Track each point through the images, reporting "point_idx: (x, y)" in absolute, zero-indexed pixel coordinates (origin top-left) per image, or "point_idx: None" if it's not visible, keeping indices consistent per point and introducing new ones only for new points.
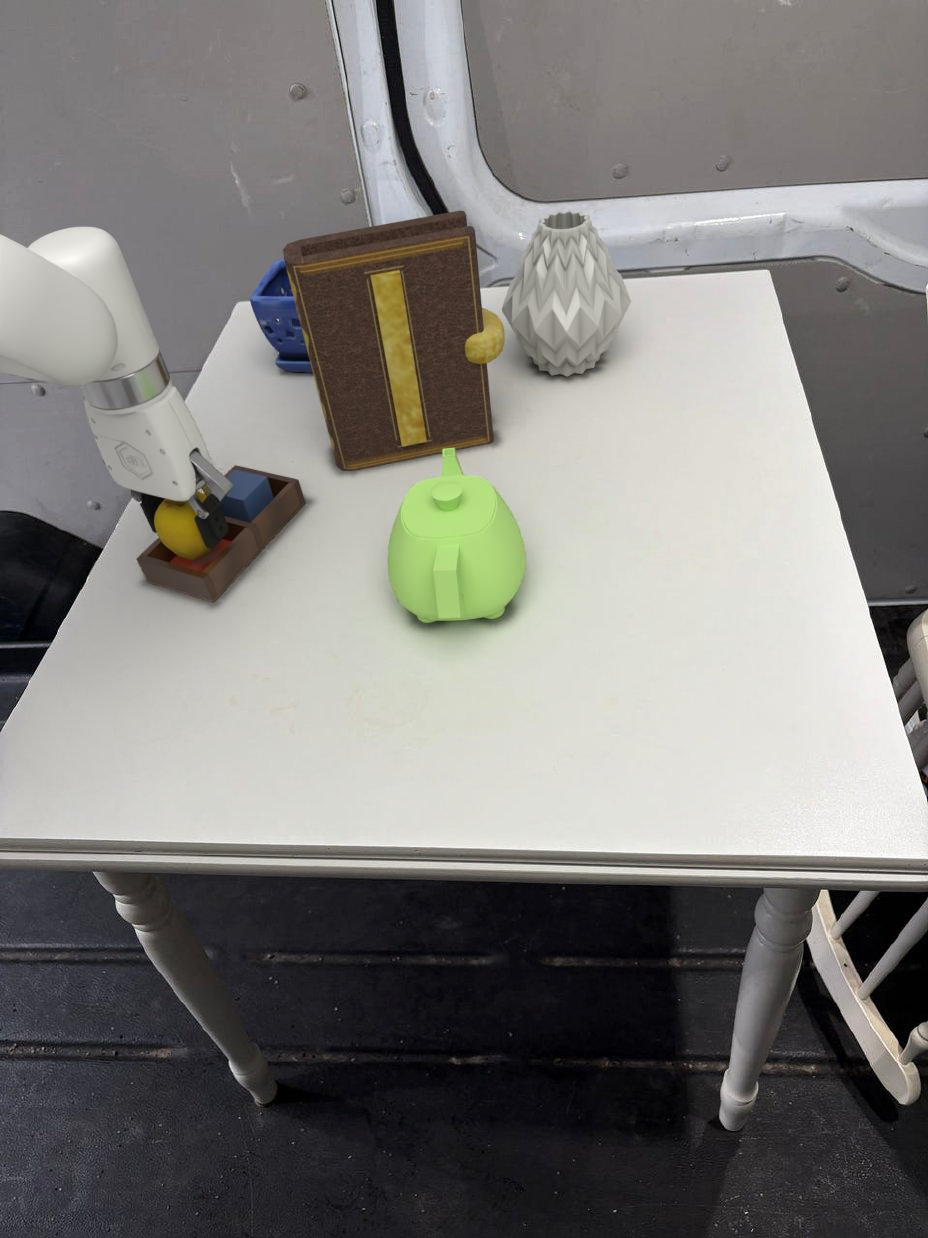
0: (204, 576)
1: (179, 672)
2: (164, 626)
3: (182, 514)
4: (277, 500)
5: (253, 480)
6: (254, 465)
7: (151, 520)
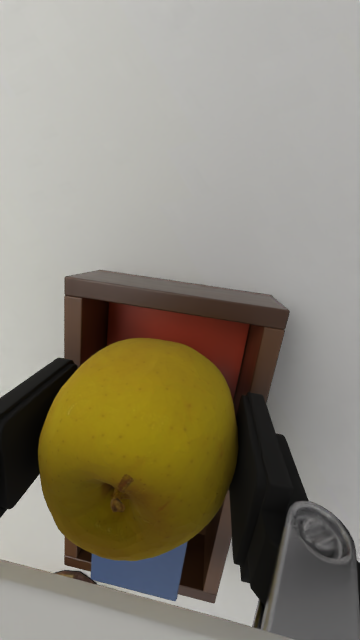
0: (65, 284)
1: (47, 59)
2: (160, 180)
3: (65, 443)
4: None
5: (111, 570)
6: (225, 585)
7: (254, 424)
